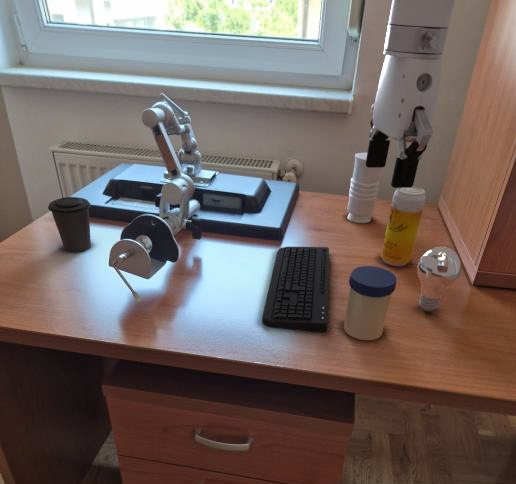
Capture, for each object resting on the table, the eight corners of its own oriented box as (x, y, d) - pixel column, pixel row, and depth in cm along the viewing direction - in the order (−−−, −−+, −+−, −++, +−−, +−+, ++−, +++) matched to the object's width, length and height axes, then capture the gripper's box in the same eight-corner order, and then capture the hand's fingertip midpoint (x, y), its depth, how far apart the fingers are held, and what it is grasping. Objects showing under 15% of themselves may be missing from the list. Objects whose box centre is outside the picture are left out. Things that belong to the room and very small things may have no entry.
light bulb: (414, 296, 89) (430, 235, 81) (451, 308, 85) (471, 246, 78) (400, 312, 84) (416, 249, 77) (439, 325, 81) (459, 261, 74)
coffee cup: (49, 246, 100) (38, 199, 94) (83, 235, 105) (74, 190, 99) (71, 258, 96) (60, 210, 90) (105, 246, 101) (97, 200, 95)
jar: (390, 330, 79) (402, 280, 73) (366, 345, 75) (377, 293, 70) (359, 314, 83) (369, 265, 77) (335, 327, 79) (343, 277, 74)
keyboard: (277, 250, 103) (278, 241, 101) (328, 255, 102) (329, 246, 100) (260, 325, 79) (260, 315, 78) (326, 332, 78) (327, 322, 77)
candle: (375, 216, 121) (386, 154, 112) (370, 225, 116) (381, 162, 107) (348, 211, 123) (357, 151, 114) (342, 220, 118) (351, 158, 109)
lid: (403, 287, 74) (406, 278, 73) (376, 302, 70) (378, 292, 69) (367, 271, 78) (369, 261, 77) (339, 284, 74) (341, 274, 73)
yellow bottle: (376, 254, 103) (390, 184, 94) (403, 254, 103) (419, 184, 94) (385, 267, 98) (401, 195, 89) (414, 267, 98) (432, 195, 90)
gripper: (477, 50, 56) (438, 195, 66) (411, 38, 69) (387, 160, 79) (418, 48, 54) (387, 196, 65) (363, 36, 68) (344, 160, 78)
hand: (387, 176), depth 72 cm, fingers open, 9 cm apart
